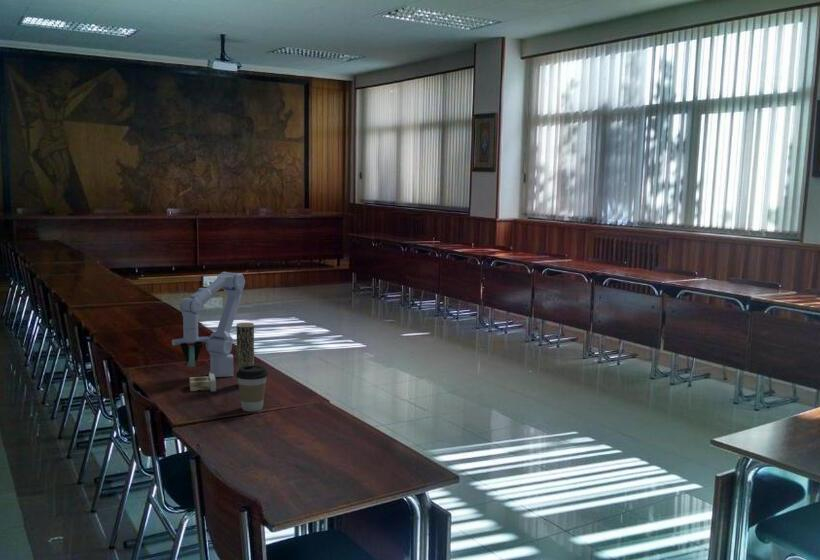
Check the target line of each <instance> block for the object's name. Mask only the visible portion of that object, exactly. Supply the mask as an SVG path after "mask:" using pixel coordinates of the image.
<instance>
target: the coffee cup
mask: <svg viewBox="0 0 820 560" xmlns="http://www.w3.org/2000/svg"><path fill="white" fill-rule="evenodd" d="M235 376H236V379H237V378H238V383H239V386H238V390H239V396H240V404H241V408H242V410H243V411H244V412H249V413H250V412H251V413H252V412H259V411H261V410H262V409H263V407H264V401H265V400H264V399H265V392H266V384H267V377H268V376H269V374H268V370H266V367H264V366H262V365H255V364H254V365H250V366H243V367H241V368H239V371H238V372H237V371H236V375H235Z"/></svg>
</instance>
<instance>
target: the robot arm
mask: <svg viewBox="0 0 820 560" xmlns="http://www.w3.org/2000/svg"><path fill="white" fill-rule="evenodd" d="M245 284H246V280H245V277H244V275H243V274H242V273H241V272H240V273H239V272H238V273H237V272H229V271H228V272H227V271H222V272H221V273H220V274H218V275H217V277H216V279H214V281H213V282H211V283H210V284H209V285H208V286H207V287H199V288H198V290H197V291H195V292H194V293H192V294H191V295H190V296H189V297H185V298H183V299H182V300H181V301H180V305H179V309H180V311H181V315H182V322H183V323H182V325H183V328H182V329H183V333H182V334H183V337H181V338H176V339H171V345H172V346H177V345H179V347H180V349H181V351H182V353H183V356H184V360H185V362H186V363H187V362H188V349H189V346H190V345H188V344H193V346H195V362H198V361H199V355H200V353H201V350H202V348H203V345H204V344H203V343H205V349H206V351H207V352H208V355H209V356H210V363H209V364H210V371H209V372H208V375H209V374H212V373H214V376H215V378H223V377H226V378H227V377H234V371H235V370H234V355H233V354H232V353H231V352H232V350H233V349H232V348H233V341H234V338H233V337H232V336H231V334H230V333H231V330H232V328H233V324H234V321H235V317H236V314H237V312H238V308H239V305H240V301H241V298H242V296H243V292H244V291H243V290H244V288H245ZM221 289H223V290H224V292H225V293H226V294H227V298H226V301H225V304H224V307H223V310H222V313H221V316H220V319H219V323H218V326H217V327H216V328H217V329H216V330H215V331H213V332H212V333H210V335H209V336H199V313H200V311H201V309H202V307H203V306H204V305H205V304H206V303H208V301H210V300H211V299H212V296H213V294H215V293H216V292H218V291H220V290H221Z"/></svg>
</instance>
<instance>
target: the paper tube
mask: <svg viewBox="0 0 820 560" xmlns="http://www.w3.org/2000/svg"><path fill="white" fill-rule="evenodd" d="M235 326H236V327H235V328H236V373H237V372H238V371H239V368H241V367H243V366H250V365H255V323H253V322H238V323H236V325H235ZM236 382H237V383H236V384H237V386H238V387H239V383H238V378H237V377H236Z"/></svg>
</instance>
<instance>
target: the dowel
mask: <svg viewBox="0 0 820 560" xmlns="http://www.w3.org/2000/svg"><path fill="white" fill-rule="evenodd" d="M188 346H189V349H188V362H186V363H187V367H188V368H194V367H196V361H195V346H194V345H188Z"/></svg>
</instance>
